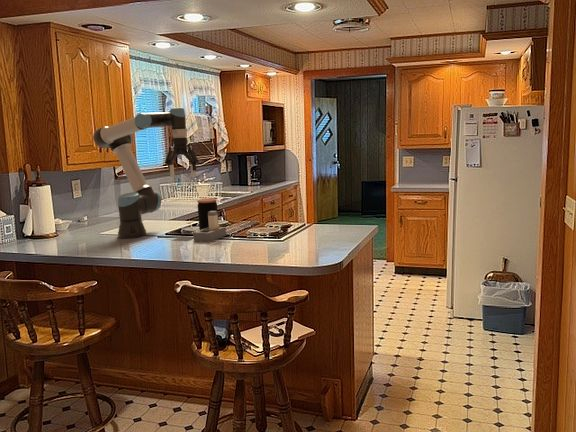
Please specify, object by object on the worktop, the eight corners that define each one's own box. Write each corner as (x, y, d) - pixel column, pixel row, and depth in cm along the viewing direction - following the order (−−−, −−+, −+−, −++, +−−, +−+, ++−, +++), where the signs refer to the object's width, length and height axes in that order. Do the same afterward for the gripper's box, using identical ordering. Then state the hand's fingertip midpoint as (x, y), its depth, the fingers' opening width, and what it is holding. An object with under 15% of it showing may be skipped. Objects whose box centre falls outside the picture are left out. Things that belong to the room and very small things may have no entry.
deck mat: (171, 241, 291) (171, 240, 290) (182, 237, 300) (182, 236, 299) (187, 242, 286) (187, 241, 286) (198, 238, 295) (198, 237, 295)
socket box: (193, 242, 287) (193, 232, 286) (210, 235, 301) (209, 226, 300) (210, 243, 282) (209, 233, 282) (226, 236, 297) (225, 226, 296)
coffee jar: (215, 233, 305) (213, 201, 302) (196, 233, 307) (194, 201, 304) (221, 229, 315) (219, 198, 312) (203, 229, 317) (201, 198, 314)
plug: (209, 236, 294) (207, 211, 292) (213, 234, 297) (211, 210, 295) (215, 236, 293) (213, 212, 290) (218, 235, 296) (217, 210, 294)
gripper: (156, 138, 300) (159, 177, 304) (195, 136, 290) (198, 177, 293) (164, 137, 307) (168, 175, 310) (203, 136, 296) (206, 175, 300)
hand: (182, 176), depth 302 cm, fingers open, 13 cm apart
